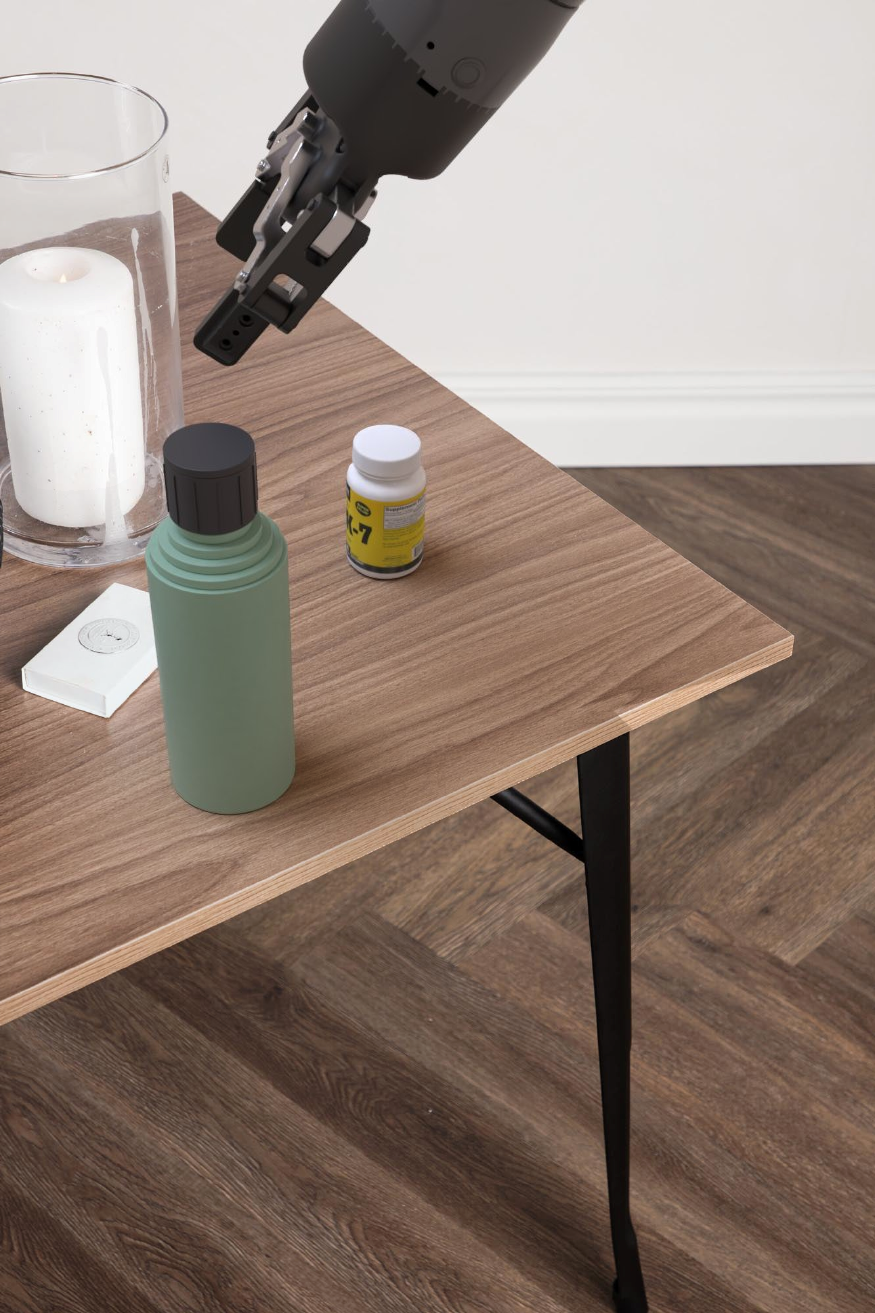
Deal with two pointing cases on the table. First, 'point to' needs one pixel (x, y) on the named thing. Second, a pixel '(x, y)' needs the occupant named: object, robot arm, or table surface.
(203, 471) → the cap
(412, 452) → the supplement bottle
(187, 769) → the water bottle
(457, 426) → the table surface
